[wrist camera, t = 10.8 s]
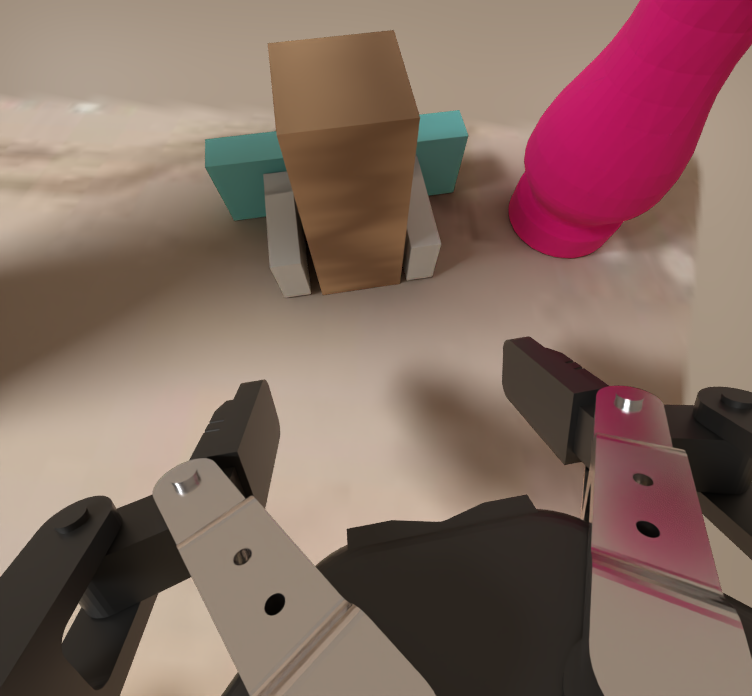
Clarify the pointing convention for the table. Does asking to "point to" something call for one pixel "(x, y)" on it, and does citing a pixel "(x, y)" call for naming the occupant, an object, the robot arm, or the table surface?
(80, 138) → the table surface
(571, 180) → the pepper mill
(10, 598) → the robot arm
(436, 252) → the frame
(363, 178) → the peg
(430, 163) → the wall
